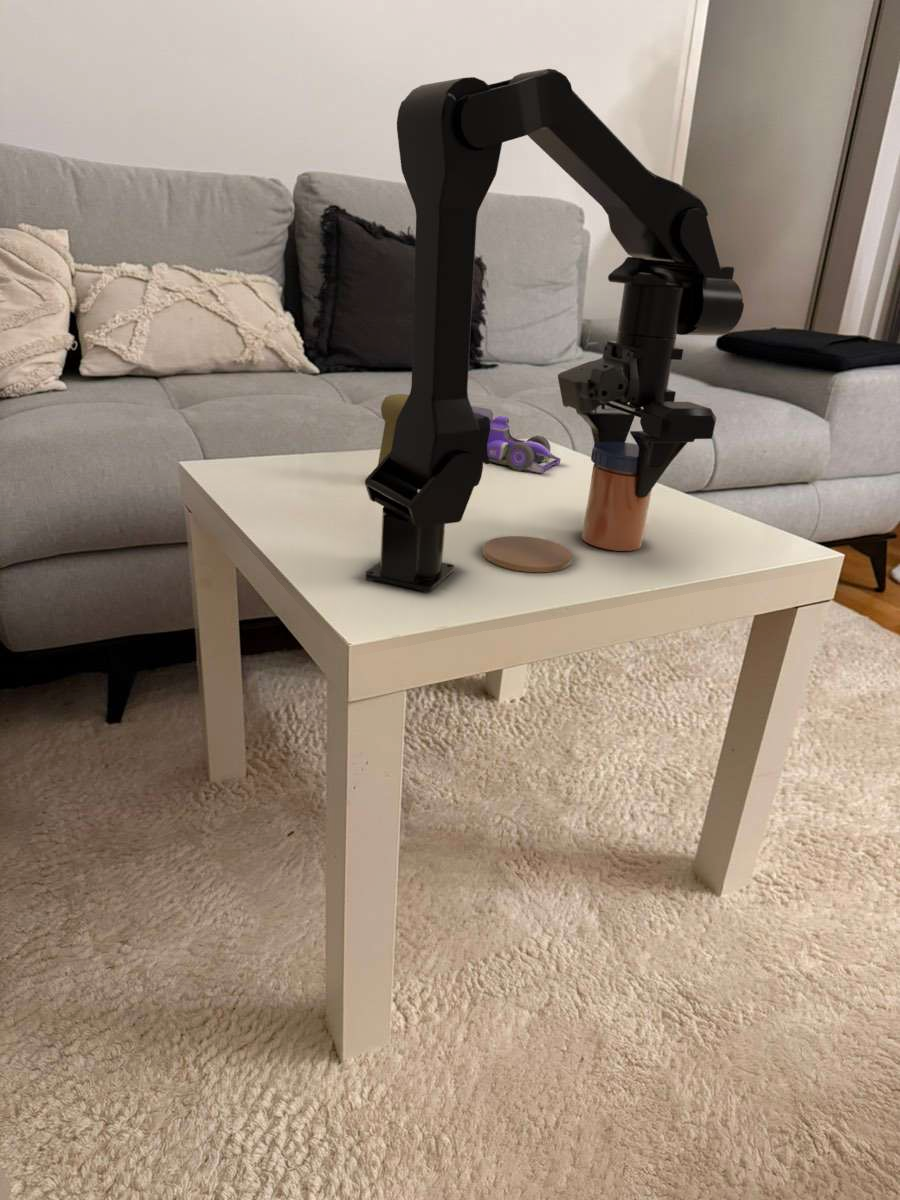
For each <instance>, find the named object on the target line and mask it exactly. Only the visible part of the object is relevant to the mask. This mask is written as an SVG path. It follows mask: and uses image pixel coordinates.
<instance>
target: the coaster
mask: <svg viewBox="0 0 900 1200" xmlns="http://www.w3.org/2000/svg"><path fill="white" fill-rule="evenodd" d="M482 555H483V557H484V559H486V560H487V561H488V562H490V563H492V564H493V565H496V566H498V567H501V568H504V569H508V570H512V571H517V572H522V573H523V572H524V573H539V574H540V573H551V572H559V571H561V570H564V569H567V568H568V567H569V566H570V565H571V564H572V561H573V554H572V552H571V551H570V550H569V549H568V548H567V547H565V546H564V545H562V544H560V543H557V542H554V541H551V540H549V539H544V538H539V537H533V536H522V535H510V536H509V535H508V536H507V535H506V536H500V537H496V538H492V539H490V540H487V541H486V542H485V543H483V546H482Z"/></svg>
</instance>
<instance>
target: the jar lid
mask: <svg viewBox="0 0 900 1200" xmlns="http://www.w3.org/2000/svg"><path fill="white" fill-rule="evenodd" d="M638 452H639V447H638V445H637V443H630V442H625V443H624V442H598V443H595V444H594V443H593V447H592V450H591V456H590V461H591V462H592V463H593V464H597V465H599V466H601V467H604V468H608V469H612V470H617V471H623V472H631V473H637V463H638Z"/></svg>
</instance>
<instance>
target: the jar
mask: <svg viewBox="0 0 900 1200" xmlns="http://www.w3.org/2000/svg"><path fill="white" fill-rule="evenodd" d="M591 472H592V473H591V477H590V478H591V479H590V483H589V490H588V496H587V503H586V509H585V515H584V522H583V527H582V534H581V539H582V541H584V542H585V543H587V544H589V545H591V546H593V547H597V548H600V549H604V550H609V551H617V552H630V551H636V550H639V549H640V548H641V547H642V545H643V544H642V543H643V538H644V533H645V527H646V523H647V518H648V512H649V507H650V501H651V497H652V491H653V488H652V489H651V491H650V492H649V494H648V495H647V496H646V497H644V498H638V497H636V475H637V473H631V472H623V471H617V470H612V469H608V468H604V467H601V466H599V465H597V464H595V463H593V464H592V471H591Z"/></svg>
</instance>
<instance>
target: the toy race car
mask: <svg viewBox="0 0 900 1200" xmlns="http://www.w3.org/2000/svg"><path fill="white" fill-rule="evenodd" d="M471 407H472V410H473V412H475V413H478V414H481V415H484V416H487V417H489V419H490V432H489V437H488V443H487V454H488V457H489V461H490V462H491V463H494V464H498V465H502V466H503V465H504V466H508V467H510V468H511V469H512V470H515V471H518V472H520V471H524V470H526V469H528V468H529V472H532V473H536V474H542V475H543V474H544V472H545V470H546V469H548V468H550V467H552V466H554V465H555V466H560V464H561V458H560V457H558V456H556V455H554V454H553V453H552V452H551V444H550V442H549V441H548V439H547V438H546V437H545V436H542V435H534V436H532V437H530V438H528V439H526V440H521V439H517V438H515V437H513V436H512V434H511V432H510V425H509V422H510V419H509V417H508V416H501V415H499V416H496V417H495V418H493V416H494V413H493V411H492V410H491V409H490V408H484V407H479V406H474V405H473V406H472V405H471Z"/></svg>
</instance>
